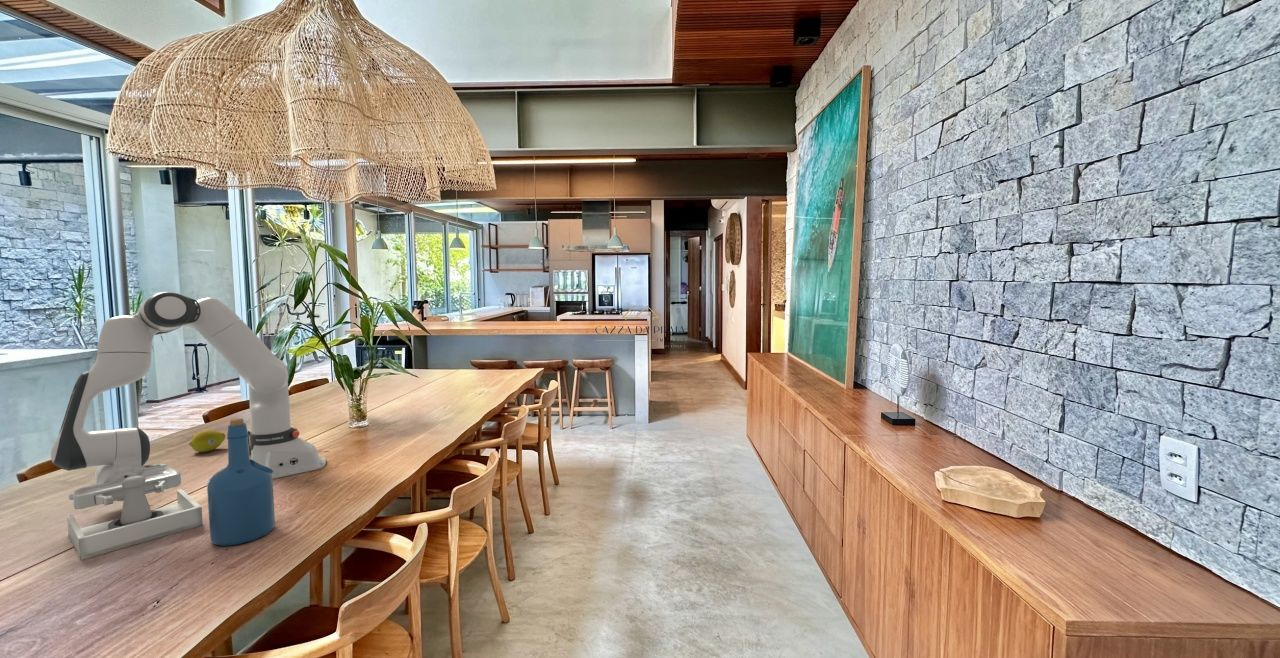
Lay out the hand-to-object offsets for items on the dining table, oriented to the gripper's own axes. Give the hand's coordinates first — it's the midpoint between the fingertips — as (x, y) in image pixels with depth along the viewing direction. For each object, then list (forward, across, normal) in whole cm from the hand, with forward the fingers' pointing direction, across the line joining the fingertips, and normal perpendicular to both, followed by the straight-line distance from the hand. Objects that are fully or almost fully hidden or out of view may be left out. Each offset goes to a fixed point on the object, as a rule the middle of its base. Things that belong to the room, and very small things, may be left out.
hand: (135, 495), depth 131 cm
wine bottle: (+24, +16, +10) cm, 31 cm away
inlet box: (-1, 0, +10) cm, 10 cm away
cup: (-52, +39, +10) cm, 66 cm away
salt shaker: (-1, 0, +9) cm, 9 cm away
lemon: (-68, +30, +10) cm, 75 cm away
